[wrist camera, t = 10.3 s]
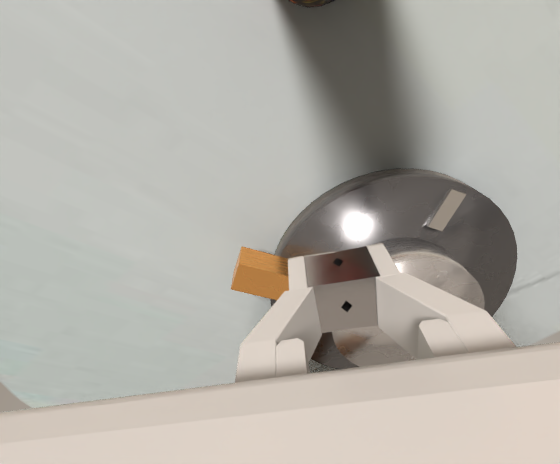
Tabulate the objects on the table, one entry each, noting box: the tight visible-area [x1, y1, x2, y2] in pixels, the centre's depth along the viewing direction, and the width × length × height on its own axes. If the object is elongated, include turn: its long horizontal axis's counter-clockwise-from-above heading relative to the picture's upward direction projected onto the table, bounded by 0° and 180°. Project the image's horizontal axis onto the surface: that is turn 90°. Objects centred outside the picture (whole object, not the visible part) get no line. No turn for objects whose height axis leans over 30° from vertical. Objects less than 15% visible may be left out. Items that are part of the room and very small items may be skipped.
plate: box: [271, 168, 517, 369], centre depth 26 cm, size 20×20×2 cm
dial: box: [231, 238, 485, 367], centre depth 22 cm, size 18×11×3 cm, turn 72°
